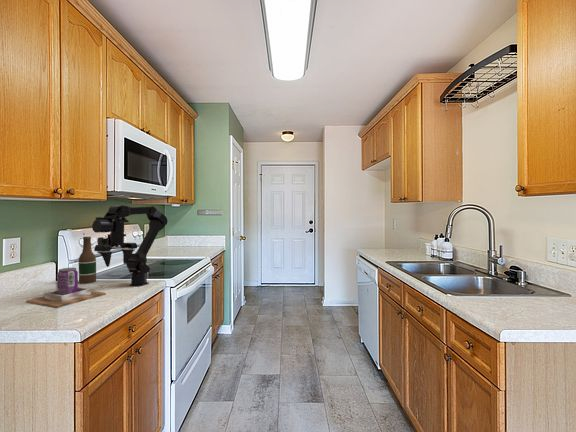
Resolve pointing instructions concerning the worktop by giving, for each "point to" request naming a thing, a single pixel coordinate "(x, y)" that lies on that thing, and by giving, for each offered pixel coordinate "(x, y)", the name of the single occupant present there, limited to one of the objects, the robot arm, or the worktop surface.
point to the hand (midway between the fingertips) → (116, 265)
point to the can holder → (65, 298)
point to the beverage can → (67, 281)
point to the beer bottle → (87, 263)
